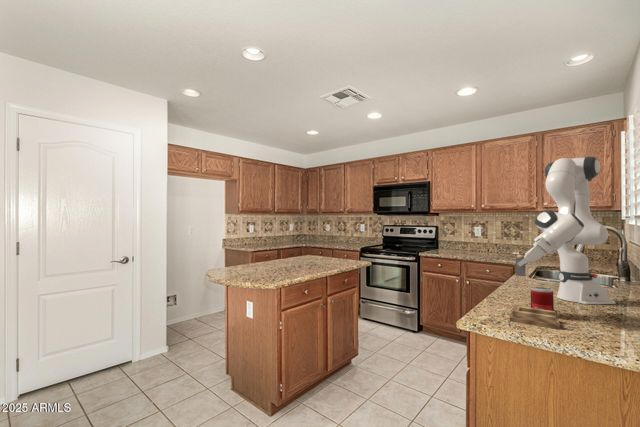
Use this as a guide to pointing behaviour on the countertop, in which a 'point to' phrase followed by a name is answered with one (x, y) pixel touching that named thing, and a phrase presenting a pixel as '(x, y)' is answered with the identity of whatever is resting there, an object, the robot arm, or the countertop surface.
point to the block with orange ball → (520, 270)
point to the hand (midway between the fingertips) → (518, 264)
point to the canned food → (542, 298)
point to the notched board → (556, 326)
